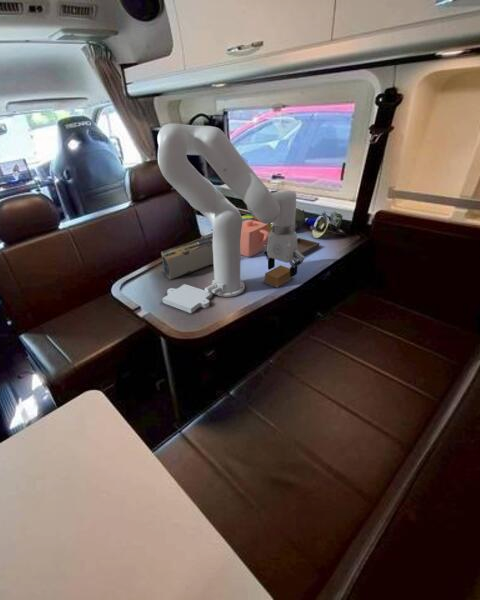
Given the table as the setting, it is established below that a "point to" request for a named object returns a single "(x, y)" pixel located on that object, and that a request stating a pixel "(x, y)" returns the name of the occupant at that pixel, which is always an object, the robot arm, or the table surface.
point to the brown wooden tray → (306, 246)
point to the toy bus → (187, 257)
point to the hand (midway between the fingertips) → (281, 271)
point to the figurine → (311, 222)
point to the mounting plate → (187, 298)
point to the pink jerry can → (253, 237)
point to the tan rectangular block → (278, 276)
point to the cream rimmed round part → (325, 226)
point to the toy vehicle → (336, 219)
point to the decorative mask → (249, 218)
